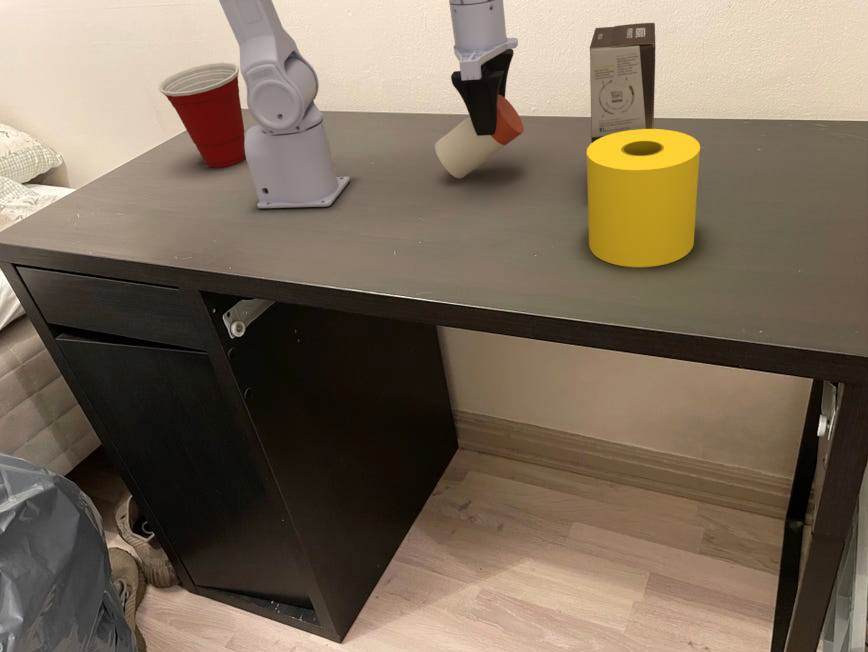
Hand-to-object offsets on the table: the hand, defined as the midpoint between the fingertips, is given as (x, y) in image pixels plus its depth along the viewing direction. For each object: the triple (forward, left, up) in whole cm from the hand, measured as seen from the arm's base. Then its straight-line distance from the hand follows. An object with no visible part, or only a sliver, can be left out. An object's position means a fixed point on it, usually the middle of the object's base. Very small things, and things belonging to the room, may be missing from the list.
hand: (490, 125), depth 86 cm
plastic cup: (-41, +9, -6) cm, 42 cm away
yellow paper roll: (+17, -18, -6) cm, 26 cm away
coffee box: (+15, -4, -6) cm, 17 cm away
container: (-6, 0, -4) cm, 7 cm away
